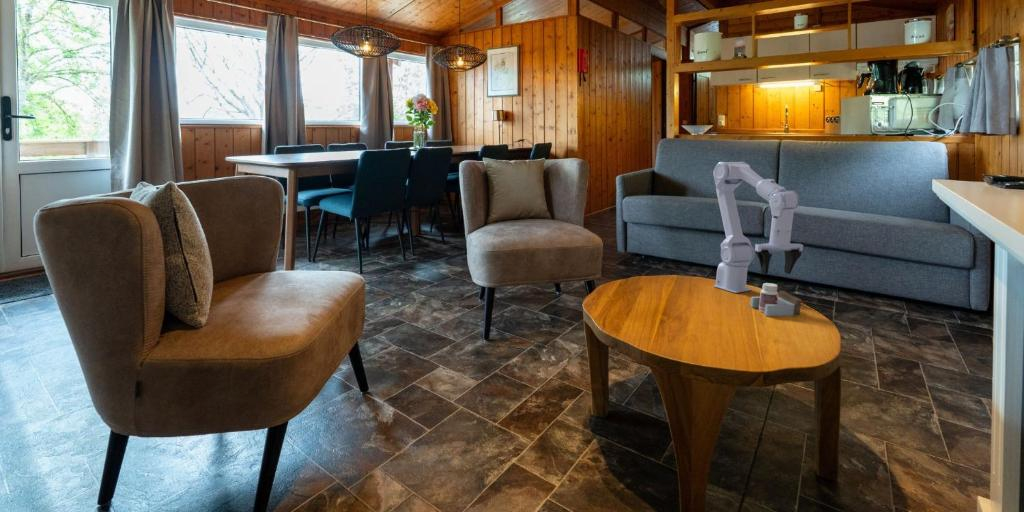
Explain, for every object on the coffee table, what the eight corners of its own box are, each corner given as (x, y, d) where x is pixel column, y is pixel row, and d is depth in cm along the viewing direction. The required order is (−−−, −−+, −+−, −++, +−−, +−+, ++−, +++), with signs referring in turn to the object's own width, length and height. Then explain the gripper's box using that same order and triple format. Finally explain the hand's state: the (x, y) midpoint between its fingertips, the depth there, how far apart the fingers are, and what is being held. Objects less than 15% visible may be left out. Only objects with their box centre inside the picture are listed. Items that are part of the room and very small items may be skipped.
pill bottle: (777, 314, 159) (781, 287, 158) (760, 313, 160) (763, 286, 158) (773, 309, 164) (776, 283, 162) (756, 308, 165) (759, 282, 163)
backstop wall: (794, 316, 158) (796, 299, 157) (776, 306, 166) (778, 291, 165) (799, 315, 158) (801, 299, 157) (781, 306, 167) (783, 291, 166)
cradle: (766, 316, 157) (767, 305, 157) (750, 306, 166) (751, 296, 165) (793, 315, 158) (794, 304, 157) (776, 305, 167) (777, 296, 166)
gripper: (765, 233, 160) (761, 277, 163) (811, 232, 161) (805, 276, 164) (753, 229, 167) (748, 271, 170) (796, 228, 168) (791, 270, 171)
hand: (775, 273), depth 167 cm, fingers open, 7 cm apart
